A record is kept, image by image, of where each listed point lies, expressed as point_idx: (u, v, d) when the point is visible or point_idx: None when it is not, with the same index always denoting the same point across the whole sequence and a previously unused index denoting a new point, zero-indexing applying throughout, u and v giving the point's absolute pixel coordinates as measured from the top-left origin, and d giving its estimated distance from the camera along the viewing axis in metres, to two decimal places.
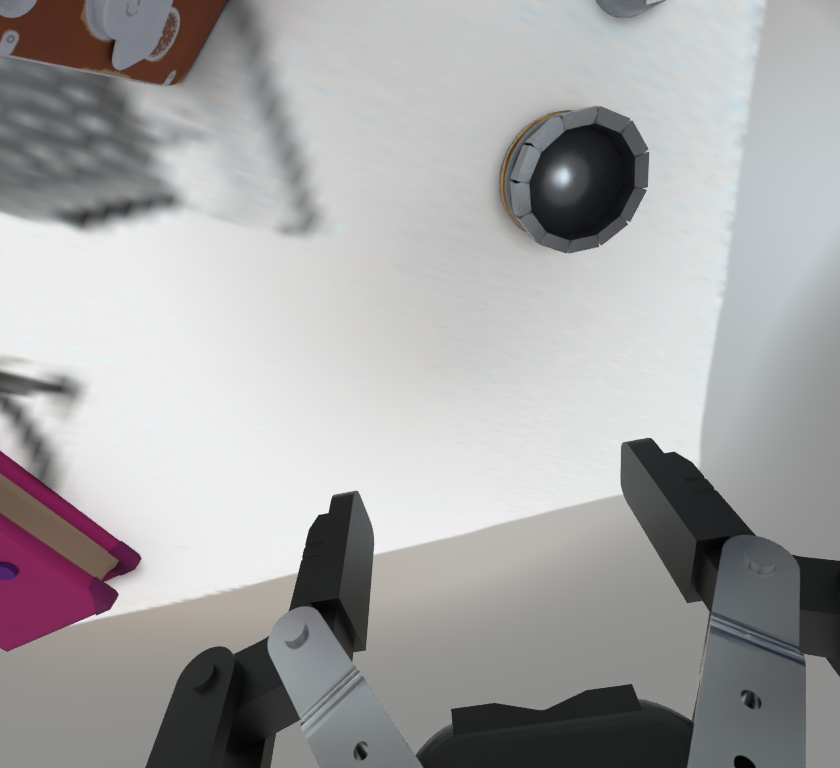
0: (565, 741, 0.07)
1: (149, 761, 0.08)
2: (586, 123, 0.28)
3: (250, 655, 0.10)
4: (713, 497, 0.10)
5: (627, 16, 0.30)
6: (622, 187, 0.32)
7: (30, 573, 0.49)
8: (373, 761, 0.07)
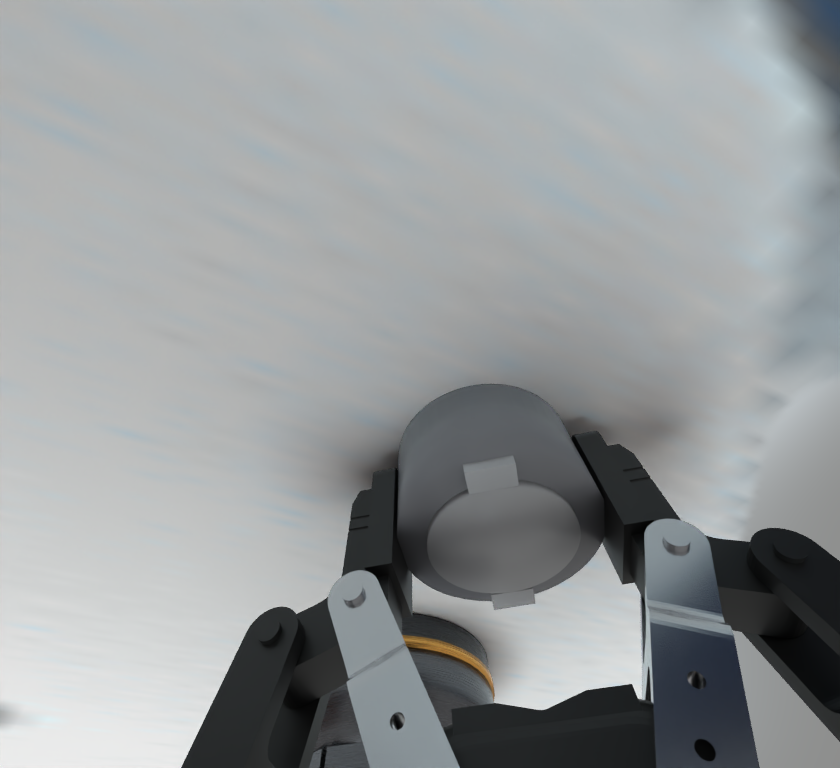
0: (565, 741, 0.07)
1: (215, 700, 0.08)
2: None
3: (308, 616, 0.10)
4: (648, 485, 0.11)
5: None
6: None
7: None
8: (407, 734, 0.07)
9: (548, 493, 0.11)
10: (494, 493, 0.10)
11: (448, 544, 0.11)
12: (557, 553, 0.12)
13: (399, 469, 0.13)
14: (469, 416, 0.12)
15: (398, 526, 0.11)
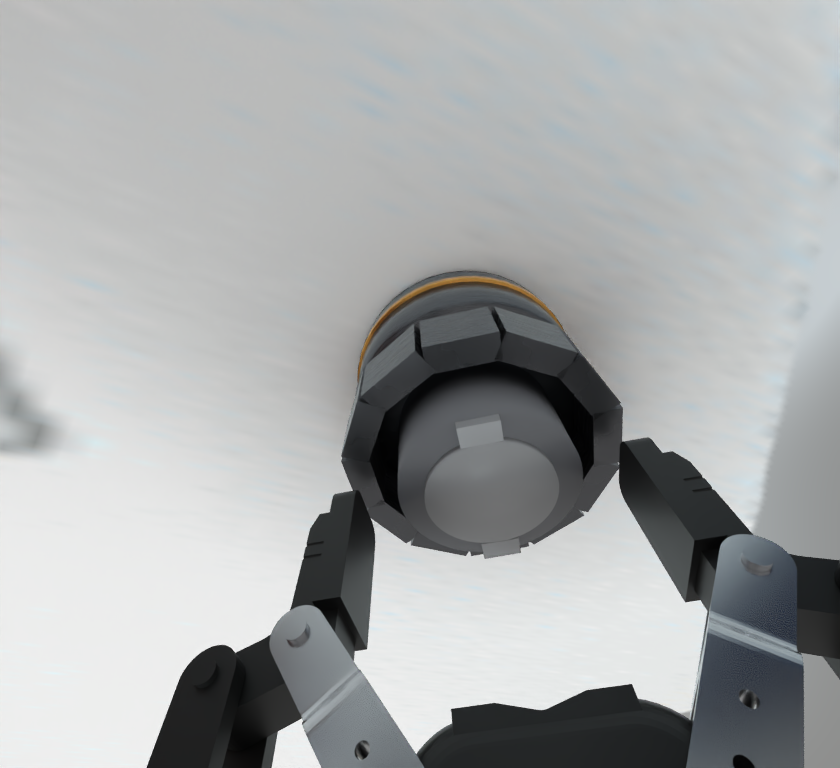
0: (565, 741, 0.07)
1: (151, 759, 0.08)
2: (478, 362, 0.12)
3: (252, 653, 0.10)
4: (711, 496, 0.10)
5: None
6: (574, 435, 0.16)
7: None
8: (374, 760, 0.07)
9: (529, 448, 0.12)
10: (482, 447, 0.12)
11: (443, 495, 0.13)
12: (539, 504, 0.13)
13: (400, 434, 0.15)
14: (461, 384, 0.13)
15: (399, 480, 0.13)
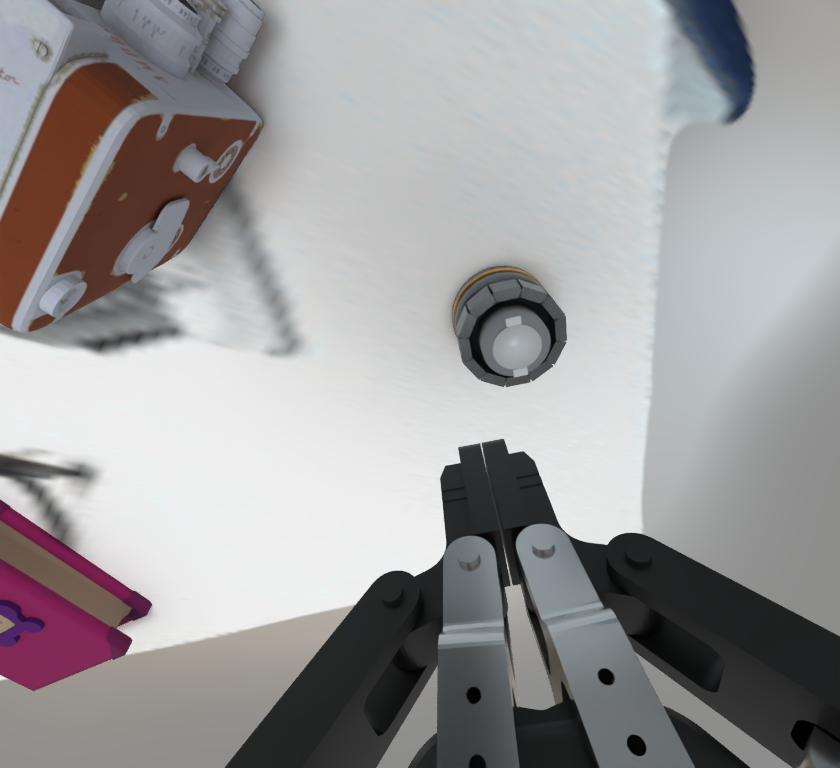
0: (565, 741, 0.07)
1: (333, 634, 0.09)
2: (512, 297, 0.35)
3: (421, 581, 0.10)
4: (538, 491, 0.12)
5: None
6: None
7: (54, 625, 0.55)
8: (479, 712, 0.07)
9: (530, 327, 0.34)
10: (514, 326, 0.34)
11: (499, 347, 0.35)
12: (534, 351, 0.36)
13: (479, 330, 0.37)
14: (505, 307, 0.36)
15: (483, 342, 0.35)
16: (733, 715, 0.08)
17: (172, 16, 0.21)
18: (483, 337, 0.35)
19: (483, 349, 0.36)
